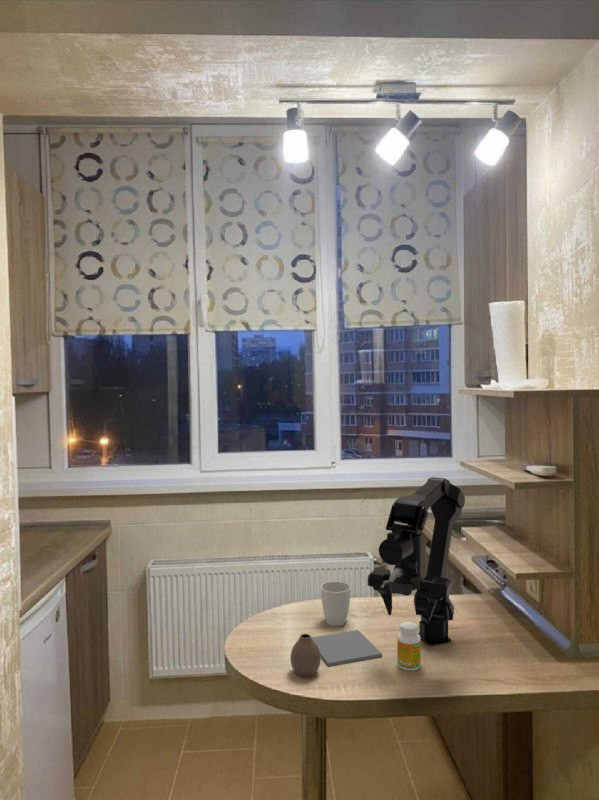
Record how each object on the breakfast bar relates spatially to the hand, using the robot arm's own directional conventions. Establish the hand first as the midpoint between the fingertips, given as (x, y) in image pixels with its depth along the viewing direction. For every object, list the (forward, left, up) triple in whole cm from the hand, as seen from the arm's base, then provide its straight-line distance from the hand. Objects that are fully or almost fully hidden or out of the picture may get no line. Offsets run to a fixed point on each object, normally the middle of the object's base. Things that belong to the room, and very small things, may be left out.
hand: (408, 618), depth 143 cm
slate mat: (+11, -13, -11) cm, 20 cm away
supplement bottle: (0, 0, -12) cm, 12 cm away
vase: (+24, -5, -12) cm, 27 cm away
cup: (+7, -28, -12) cm, 31 cm away
